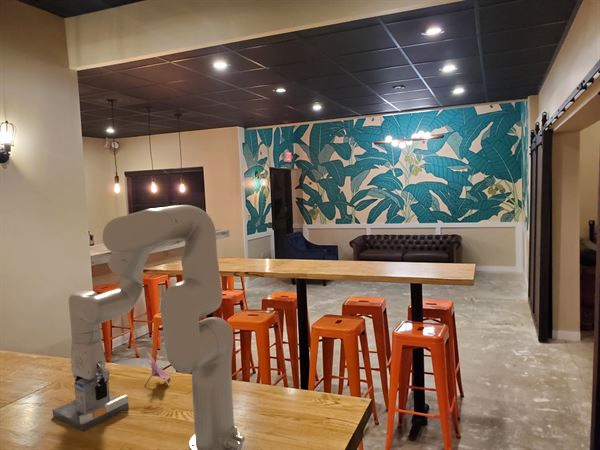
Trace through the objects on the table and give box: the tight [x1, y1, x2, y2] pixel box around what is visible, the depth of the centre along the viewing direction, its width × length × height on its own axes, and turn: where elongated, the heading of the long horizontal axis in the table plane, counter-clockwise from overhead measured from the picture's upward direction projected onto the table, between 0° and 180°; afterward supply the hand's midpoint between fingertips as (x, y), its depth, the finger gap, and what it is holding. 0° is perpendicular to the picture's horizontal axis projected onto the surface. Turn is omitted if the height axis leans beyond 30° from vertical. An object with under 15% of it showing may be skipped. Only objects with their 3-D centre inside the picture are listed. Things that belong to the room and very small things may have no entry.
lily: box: [144, 352, 171, 388], centre depth 149 cm, size 12×12×10 cm
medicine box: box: [73, 373, 111, 414], centre depth 131 cm, size 8×4×9 cm, turn 150°
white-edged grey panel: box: [51, 394, 130, 432], centre depth 132 cm, size 15×14×4 cm
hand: (91, 394), depth 131 cm, fingers open, 9 cm apart
